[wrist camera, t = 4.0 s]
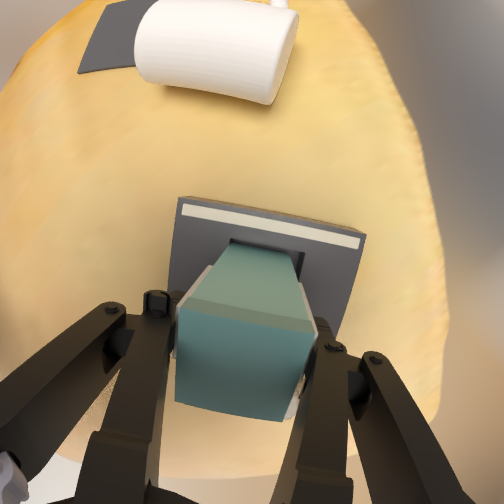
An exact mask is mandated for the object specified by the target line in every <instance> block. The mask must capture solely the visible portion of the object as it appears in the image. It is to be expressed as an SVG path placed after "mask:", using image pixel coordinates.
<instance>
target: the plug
mask: <svg viewBox="0 0 504 504" xmlns="http://www.w3.org/2000/svg"><path fill="white" fill-rule="evenodd" d="M314 336H315V332H314V328H313V325H312V321H310V320H309V318H308V314H307V311H306V307H305V304H304V300H303V297H302V293H301V290H300V287H299V283H298V280H297V277H296V273H295V270H294V267H293V263H292V260H291V257H290V254H288V253H283V252H278V251H273V250H267V249H262V248H257V247H252V246H247V245H242V244H237V243H232V242H231V243H230V244H229V246H228V247H227V248H226V249H225V251H224V252H223V253H222V255H221V256H220V257H219V259H218V260H217V261H216V263H215V264H214V265H213V267H212V268H211V269H210V271H209V272H208V274H207V275H206V276H205V278H204V279H203V280H202V282H201V283H200V284H199V286H198V287H197V288H196V290H195V291H194V292H193V294H192V295H191V297H187V299H186V300H185V301H184V303H183V304H182V305H181V307H180V312H179V325H178V338H177V354H176V375H175V401H176V402H180V403H183V404H187V405H191V406H195V407H199V408H203V409H207V410H212V411H216V412H221V413H226V414H231V415H236V416H242V417H248V418H254V419H261V420H268V421H277V422H283V419H284V417H285V414H286V412H287V410H288V407H289V405H290V402H291V400H292V397H293V395H294V392H295V389H296V387H297V384H298V382H299V379H300V376H301V373H302V371H303V368H304V365H305V362H306V360H307V357H308V354H309V351H310V348H311V345H312V342H313V339H314Z"/></svg>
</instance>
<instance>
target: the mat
mask: <svg viewBox="0 0 504 504" xmlns="http://www.w3.org/2000/svg"><path fill="white" fill-rule="evenodd" d="M157 1H159V0H125V1H121V2H117V3H113V4H109V5H107V6H106V8H105V9H104V11H103V13H102V15H101V17H100V19H99V21H98V23H97V25H96V27H95V30H94V32H93V34H92V36H91V38H90V41H89V43H88V45H87V48H86V50H85V53H84V55H83V58H82V61H81V63H80V66H79V69H78V72H77V73H78V74H82V73H88V72H94V71H100V70H107V69H114V68H123V67H133V66H136V64H135V58H134V44H135V38H136V33H137V30H138V27H139V24H140V22H141V20H142V18H143V16H144V15H145V13H146V12H147V11H148V9H149V8H150V7H151V6H152V5H153V4H154V3H156V2H157Z"/></svg>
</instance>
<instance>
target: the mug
mask: <svg viewBox="0 0 504 504" xmlns="http://www.w3.org/2000/svg"><path fill="white" fill-rule="evenodd" d="M298 22H299V14H298V12H297V11H295V10H291V9H288V0H270V5H268V4H262V3H256V2H250V1H242V0H159V1H157V2H156V3H154V4H153V5H152V6H151V7H150V8H149V9H148V11H147V12H146V13H145V15H144V16H143V18H142V20H141V22H140V24H139V27H138V30H137V33H136V38H135V44H134V58H135V64H136V67H137V70H138V72H139V74H140V76H141V77H142V78H143V79H144V80H145V81H147V82H149V83H153V84H162V85H170V86H178V87H185V88H191V89H197V90H203V91H209V92H214V93H219V94H224V95H229V96H233V97H237V98H242V99H246V100H250V101H254V102H258V103H262V104H265V105H270V104H271V103H272V102H273V101H274V99H275V97H276V95H277V92H278V90H279V87H280V85H281V82H282V79H283V76H284V74H285V71H286V68H287V64H288V61H289V58H290V55H291V51H292V48H293V44H294V40H295V36H296V32H297V27H298Z"/></svg>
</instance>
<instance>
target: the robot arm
mask: <svg viewBox="0 0 504 504" xmlns="http://www.w3.org/2000/svg"><path fill="white" fill-rule="evenodd" d="M212 267H213V266H212V265H208V266H207V268H206V269H205V270H204V271H203V273H202V274H201V275H200V276H199V278H198V279H197V280H196V281H195V283H194V284H193V285H192V287H191V288H190V289H189V290H188V292H183V291H179V290H175V291H172V292H170V293H168V292H166V291H162V290H150V291H147V292H145V293H144V300H143V313H142V315H132V314H126V307H125V306H124V305H122V304H120V303H117V302H105V303H102V304H100V305H99V306H97V307H96V308H95V309H93V310H92V311H91V312H89V313H88V314H86V315H85V316H84V317H82V318H81V319H80V320H78V321H77V322H76V323H74V324H73V325H72V326H70V327H69V328H68V329H66V330H65V331H64V332H62V333H61V334H60V335H58V336H57V337H56V338H55V339H53V340H52V341H51V342H49V343H48V344H47V345H45V346H44V347H43V348H42V349H40V350H39V351H38V352H37V353H35V354H34V355H33V356H32V357H30V358H29V359H28V360H27V361H25V362H24V363H23V364H22V365H20V366H19V367H18V368H17V369H16V370H14V371H13V372H12V373H11V374H10V375H8V376H7V377H6V378H5V379H4V380H2V381H1V382H0V504H20V502H21V501H26V500H28V498H29V492H28V484H27V483H28V482H29V481H31V480H32V479H33V478H34V477H35V476H36V475H37V474H38V473H39V472H40V471H41V470H42V469H43V468H44V467H45V465H46V464H47V463H48V461H49V460H50V459H51V457H52V456H53V455H54V453H55V452H56V450H57V449H58V448H59V446H60V445H61V444H62V442H63V441H64V440H65V438H66V437H67V436H68V434H69V433H70V432H71V430H72V429H73V428H74V426H75V425H76V424H77V422H78V421H79V420H80V419H81V417H82V416H83V415H84V413H85V412H86V411H87V409H88V408H89V407H90V406H91V404H92V403H93V402H94V400H95V399H96V398H97V397H98V395H99V394H100V393H101V392H102V390H103V389H104V388H105V387H106V385H107V384H108V383H109V381H110V380H111V379H112V378H113V376H114V375H115V374H116V373H117V371H118V370H119V369H120V368H121V369H120V371H119V374H118V377H117V380H116V383H115V386H114V389H113V392H112V395H111V398H110V401H109V404H108V407H107V410H106V413H105V416H104V420H103V423H102V426H101V429H100V431H99V432H98V431H94V432H93V433H92V434H91V436H90V439H89V442H88V445H87V449H86V452H85V456H84V459H83V463H82V467H81V470H80V474H79V479H78V483H77V487H76V491H75V496H74V497H71V498H68V499H64V500H61V501H56V502H52V503H48V504H199V503H196V502H194V501H192V500H190V499H188V498H185V497H183V496H181V495H179V494H177V493H175V492H171V491H168V490H164V489H161V488H158V476H159V458H160V445H161V433H162V422H163V412H164V403H165V394H166V386H167V378H168V371H169V364H170V353H171V352H172V350H173V358H176V354H177V338H178V325H179V312H180V307H181V305H182V304H183V303H184V301H185V300H186V299H187V297H191V295H192V294H193V292H194V291H195V290H196V288H197V287H198V286H199V284H200V283H201V282H202V280H203V279H204V278H205V276H206V275H207V274H208V272H209V271H210V269H211V268H212ZM298 283H299V282H298ZM299 287H300V290H301V293H302V297H303V300H304V304H305V307H306V311H307V314H308V318H309V320H310V321H312V325H313V328H314V332H315V336H314V339H313V342H312V345H311V348H310V351H309V354H308V357H307V360H306V362H305V365H304V368H303V371H302V373H301V376H300V379H299V382H301V381H302V379H303V376H304V373H305V382H304V384H303V387H302V389H301V392H300V394H299V397H298V399H300V400H299V404H298V408H297V412H296V416H295V420H294V424H293V428H292V432H291V436H290V439H289V443H288V447H287V450H286V454H285V457H284V460H283V464H282V467H281V470H280V474H279V477H278V480H277V483H276V486H275V489H274V492H273V495H272V498H271V501H270V503H269V504H352V501H353V487H354V486H353V480H352V478H348V477H346V459H347V440H348V419H349V423H350V426H351V429H352V432H353V436H354V439H355V443H356V446H357V449H358V453H359V456H360V460H361V463H362V467H363V470H364V474H365V478H366V481H367V485H368V489H369V493H370V497H371V500H372V504H476V503H475V502H474V501H473V500H472V499H471V498H470V497H469V496H468V495H467V494H466V493H465V492H464V491H463V490H462V487H461V485H460V483H459V481H458V479H457V477H456V475H455V473H454V471H453V470H452V467H451V466H450V464H449V462H448V460H447V458H446V456H445V454H444V452H443V450H442V449H441V447H440V445H439V443H438V441H437V439H436V438H435V436H434V434H433V432H432V430H431V429H430V427H429V425H428V423H427V422H426V420H425V418H424V416H423V415H422V413H421V411H420V410H419V408H418V406H417V405H416V403H415V401H414V400H413V398H412V396H411V395H410V393H409V391H408V390H407V388H406V386H405V385H404V383H403V382H402V380H401V378H400V377H399V375H398V374H397V372H396V371H395V369H394V367H393V366H392V364H391V363H390V361H389V360H388V359H387V357H386V356H384V355H382V354H381V353H379V352H374V351H367V352H365V353H364V354H363V356H362V359H361V358H358V357H354V356H351V355H348V354H347V350H346V347H345V346H344V345H343V344H341V343H340V342H338V341H336V340H335V338H334V336H333V333H332V331H331V328H330V326H329V323H328V322H327V321H326V320H325V319H324V318H322V317H315V316H312V312H311V309H310V306H309V303H308V300H307V297H306V294H305V291H304V288H303V285H302V283H299Z"/></svg>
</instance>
